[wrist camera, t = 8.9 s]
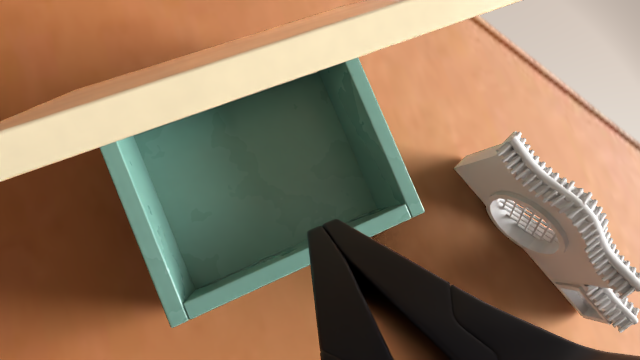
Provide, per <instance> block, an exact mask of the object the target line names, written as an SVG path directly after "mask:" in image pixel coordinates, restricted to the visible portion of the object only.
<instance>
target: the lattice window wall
mask: <svg viewBox="0 0 640 360" xmlns="http://www.w3.org/2000/svg"><path fill="white" fill-rule="evenodd" d="M521 134H522V133H521V132H518V133H517V132H513V133H512V134H511V135H510V136H509V137H508V138H507V139H506V140H505V141H504V142H503V143H502V144H499V145H496V146H494V147H491V148H488V149H485V150H482V151H479V152H476V153H473V154H470V155H468V156H466V157H465V158H464V159H463V160H462V161H460V162H459V163H458V164H457V165H456V166H455V167H454V169H455V171H456V172H457V173H458V174H459V175H460V176H461V177H462V179H463V180H464V181H465V182H466V183H467V184H468V186H469V187H470V188H471V189H472V190H473V191H474V192H475V194H476V195H477V196H478V197H479V198H480V199H481V201H482V202H483V203H484V204H485V205H486V210H487V212H488V214H489V217H490V219H491V220H492V221H493V223H494V224H495V225H496V227H497V228H498V229H499V230H500V231H501V232H502V233H503V234H504V235H505V236H506V237H508V238H509V239H510V240H512V241H513V242H514V243H515V244H517V245H519V246H520V247H522V248H523V249H524V250H525V251H526V253H527V254H528V255H529V256H530V257H531V258H532V259H533V261H534V262H535V263H536V264H537V265H538V266H539V268H540V269H541V270H542V271H543V272H544V273H545V274H546V276H547V277H548V278H549V279H550V280H551V281H552V282H553V284H554V285H555V286H556V287H557V288H558V289H559V291H560V292H561V293H562V294H563V295H564V296H565V297H566V299H567V300H568V301H569V302H570V303H571V304H572V306H573V307H574V308H575V309H576V310H577V311H578V312H579V314H580V315H581V316H583V318H586V319H590V320H594V321H598V322H602V323H606V324H611V323H613V324H612V325H613V326H614V327H616V326H617V327H618V328H619V329H618V331H619V332H623V331H624V330H625V329H627V328H628V327H629V326H631V325H632V324H636V323H638V319H637V318H636V317H637V314H638V312H639V308H634V307H633V303H631V302H630V303H629V302H628V301H627V300H628V298H627V296H628V295H629V294H631V293H632V292H633V291H635V290H636V291H640V273H637V272H636V271H635V270H636V268H635V267H631V266H630V265H629V264H630V262H629V261H624V260H623V259H624V256H622V255H621V256H620V255H619V254H618V253H619V250H617V249H615V248H616V245H615V244H611V243H612V241H613V239H612V238H609V237H610V235H611V234H610V233H609V232H607V233H606V231H607V229H608V227H607V226H606V225H607V223H608V221H609V220H608V219H604V218H605V217H606V214H605V213H602V214H601V213H600V212H601V211H602V209H603V208H602V207H597V206H596V204H597V202H598V201H597V200H592V199H591V198H590V197H591V196H592V193H591V192H588V193H584V192H583V191H584V190H583V189H582V188H576V187H574V186H573V185H574V184H575V182H574V181H571V182H570V183H567V182H566V180H567V179H566V178H563V179H561V178H559V177H558V176H559V174H558V173H553V172H552V171H551V170H552V168H551V167H549V168H547V167H545V165H546V163H545V162H542V163H541V162H539V160H538V159H539V156H533V153H534V150H531V151H530V150H529V148H530V145H529V144H527V145H526V144H525V142H526V139H525V138H523V139H522V138H521V137H520V136H521ZM513 201H514V202H515V203H514V202H513ZM517 204H519V205H520V206H522V207H524V208H521V207H519V206H518V205H517ZM526 209H527V210H528V211H530V212H532V214H531V213H529V212H528V211H526ZM524 213H526V214H527V215H529V216H531V217H528V216H526V215H525V214H524ZM534 215H537V216H538V217H540V219H539V218H537V217H536V216H534ZM532 218H534V219H535V220H537V221H539V222H536V221H534V220H533V219H532ZM542 220H544V221H545V222H546V223H545V222H544V221H542ZM603 220H604V221H603ZM540 223H542V224H544V225H545V226H547V227H544V226H542V225H541V224H540ZM549 228H550V229H552V230H550V229H549Z"/></svg>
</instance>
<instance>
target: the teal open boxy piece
mask: <svg viewBox="0 0 640 360" xmlns="http://www.w3.org/2000/svg"><path fill="white" fill-rule="evenodd" d="M99 148H100V150H101V153H102V155H103V158H104V160H105V163H106V165H107V168H108V170H109V173H110V176H111V178H112V181H113V183H114V186H115V188H116V191H117V193H118V196H119V198H120V201H121V203H122V206H123V208H124V211H125V213H126V216H127V218H128V221H129V223H130V226H131V228H132V231H133V233H134V236H135V238H136V241H137V243H138V246H139V249H140V251H141V254H142V256H143V259H144V261H145V264H146V266H147V269H148V271H149V274H150V276H151V279H152V281H153V284H154V286H155V289H156V291H157V294H158V296H159V299H160V301H161V304H162V306H163V309H164V311H165V314H166V316H167V319H168V321H169V324H170V327H171V328H174V327H176V326H178V325H180V324H182V323H184V322H187V321H188V320H189V319H193V318H195V317H197V316H200V315H202V314H204V313H206V312H208V311H211V310H213V309H215V308H217V307H219V306H221V305H224V304H226V303H228V302H230V301H232V300H235V299H237V298H239V297H241V296H243V295H245V294H248V293H250V292H252V291H254V290H256V289H258V288H261V287H263V286H265V285H267V284H269V283H272V282H274V281H276V280H278V279H280V278H282V277H285V276H287V275H289V274H291V273H293V272H296V271H298V270H300V269H302V268H304V267H306V266H309V265H310V257H309V248H308V239H307V232H308V231H309V230H311V229H313V228H315V227H317V226H322V225H323V224H324V223H327V222H329V221H331V220H333V219H338V220H340V221H342V222H344V223H346V224H347V225H349V226H351V227H353V228H354V229H356V230H358V231H360V232H361V233H363V234H365V235H367V236H368V237H372V236H374V235H376V234H378V233H381V232H383V231H385V230H387V229H389V228H391V227H394V226H396V225H398V224H400V223H402V222H404V221H407V220H409V219H410V218H413V217H415V216H418V215H420V214H422V213H424V212H425V210H424V208H423V206H422V203H421V201H420V199H419V196H418V194H417V192H416V189H415V187H414V185H413V183H412V180H411V178H410V176H409V173H408V171H407V169H406V166H405V164H404V162H403V160H402V157H401V155H400V153H399V150H398V148H397V146H396V144H395V141H394V139H393V137H392V134H391V132H390V130H389V127H388V125H387V123H386V121H385V118H384V116H383V114H382V111H381V109H380V107H379V105H378V102H377V100H376V98H375V95H374V93H373V91H372V88H371V86H370V84H369V82H368V79H367V77H366V75H365V72H364V70H363V68H362V65H361V63H360V61H359V59H358V58H355V59H352V60H349V61H346V62H343V63H341V64H338V65H335V66H332V67H329V68H326V69H323V70H320V71H318V72H315V73H312V74H309V75H306V76H303V77H300V78H297V79H295V80H292V81H289V82H286V83H283V84H280V85H277V86H274V87H272V88H269V89H266V90H263V91H260V92H257V93H254V94H251V95H249V96H246V97H243V98H240V99H237V100H234V101H231V102H228V103H226V104H223V105H220V106H217V107H214V108H211V109H208V110H205V111H203V112H200V113H197V114H194V115H191V116H188V117H185V118H182V119H180V120H177V121H174V122H171V123H168V124H165V125H162V126H160V127H157V128H154V129H151V130H148V131H145V132H142V133H139V134H137V135H134V136H131V137H128V138H125V139H122V140H119V141H116V142H114V143H111V144H108V145H105V146H102V147H99Z"/></svg>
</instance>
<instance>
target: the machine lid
mask: <svg viewBox="0 0 640 360" xmlns="http://www.w3.org/2000/svg"><path fill="white" fill-rule="evenodd" d="M518 1H522V0H365V1H361V2H357V3H353V4H349V5H345V6H341V7H338V8H334V9H331V10H328V11H325V12H322V13H318V14H315V15H312V16H309V17H306V18H303V19H299V20H296V21H293V22H290V23H287V24H283V25H280V26H277V27H274V28H271V29H268V30H264V31H261V32H258V33H255V34H252V35H248V36H245V37H242V38H239V39H236V40H233V41H229V42H226V43H223V44H220V45H217V46H213V47H210V48H207V49H204V50H201V51H198V52H194V53H191V54H188V55H185V56H182V57H178V58H175V59H172V60H169V61H166V62H163V63H159V64H156V65H153V66H150V67H147V68H143V69H140V70H137V71H134V72H131V73H128V74H124V75H121V76H118V77H115V78H112V79H108V80H105V81H102V82H99V83H96V84H93V85H89V86H86V87H83V88H80V89H77V90H73V91H71V92H69V93H66V94H64V95H62V96H59V97H57V98H55V99H52V100H50V101H47V102H45V103H43V104H40V105H38V106H36V107H33V108H31V109H29V110H26V111H24V112H21V113H19V114H17V115H14V116H12V117H10V118H7V119H5V120H2V121H0V182H1V181H4V180H7V179H10V178H13V177H16V176H19V175H22V174H24V173H27V172H30V171H33V170H36V169H39V168H42V167H45V166H47V165H50V164H53V163H56V162H59V161H62V160H65V159H68V158H70V157H73V156H76V155H79V154H82V153H85V152H88V151H91V150H93V149H96V148H99V147H102V146H105V145H108V144H111V143H114V142H116V141H119V140H122V139H125V138H128V137H131V136H134V135H137V134H139V133H142V132H145V131H148V130H151V129H154V128H157V127H160V126H162V125H165V124H168V123H171V122H174V121H177V120H180V119H182V118H185V117H188V116H191V115H194V114H197V113H200V112H203V111H205V110H208V109H211V108H214V107H217V106H220V105H223V104H226V103H228V102H231V101H234V100H237V99H240V98H243V97H246V96H249V95H251V94H254V93H257V92H260V91H263V90H266V89H269V88H272V87H274V86H277V85H280V84H283V83H286V82H289V81H292V80H295V79H297V78H300V77H303V76H306V75H309V74H312V73H315V72H318V71H320V70H323V69H326V68H329V67H332V66H335V65H338V64H341V63H343V62H346V61H349V60H352V59H355V58H358V57H361V56H364V55H366V54H369V53H372V52H375V51H378V50H381V49H384V48H387V47H389V46H392V45H395V44H398V43H401V42H404V41H407V40H410V39H412V38H415V37H418V36H421V35H424V34H427V33H430V32H433V31H435V30H438V29H441V28H444V27H447V26H450V25H453V24H456V23H458V22H461V21H464V20H467V19H470V18H473V17H476V16H478V15H481V14H484V13H487V12H490V11H493V10H496V9H498V8H501V7H504V6H507V5H510V4H513V3H516V2H518Z"/></svg>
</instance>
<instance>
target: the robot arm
mask: <svg viewBox="0 0 640 360" xmlns="http://www.w3.org/2000/svg"><path fill="white" fill-rule="evenodd" d="M307 239H308V248H309V257H310V266H311V275H312V283H313V292H314V301H315V310H316V319H317V328H318V336H319V345H320V351H321V353H320V356H321V360H640V356H633V355H625V354H618V353H610V352H604V351H600V350H595V349H592V348H588V347H585V346H582V345H579V344H576V343H574V342H571V341H569V340H567V339H564V338H562V337H560V336H558V335H555V334H553V333H551V332H549V331H546V330H544V329H542V328H540V327H537V326H535V325H533V324H531V323H528V322H526V321H524V320H522V319H519V318H517V317H515V316H513V315H511V314H508V313H506V312H504V311H502V310H500V309H498V308H496V307H494V306H491V305H489V304H487V303H485V302H483V301H482V300H480V299H478V298H476V297H474V296H472V295H470V294H469V293H467V292H465V291H463V290H461V289H460V288H458V287H456V286H455V285H451V286H450V283H449V282H447V281H446V280H444V279H442V278H440V277H439V276H437V275H435V274H433V273H431V272H430V271H428V270H426V269H424V268H423V267H421V266H419V265H417V264H416V263H414V262H412V261H410V260H409V259H407V258H405V257H403V256H402V255H400V254H398V253H396V252H395V251H393V250H391V249H389V248H388V247H386V246H384V245H382V244H381V243H379V242H377V241H375V240H374V239H372V238H370V237H368V236H367V235H365V234H363V233H361V232H360V231H358V230H356V229H354V228H353V227H351V226H349V225H347V224H346V223H344V222H342V221H340V220H338V219H333V220H331V221H329V222H327V223H324V224H323V225H322V226H317V227H315V228H313V229H311V230H309V231H308V232H307Z"/></svg>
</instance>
